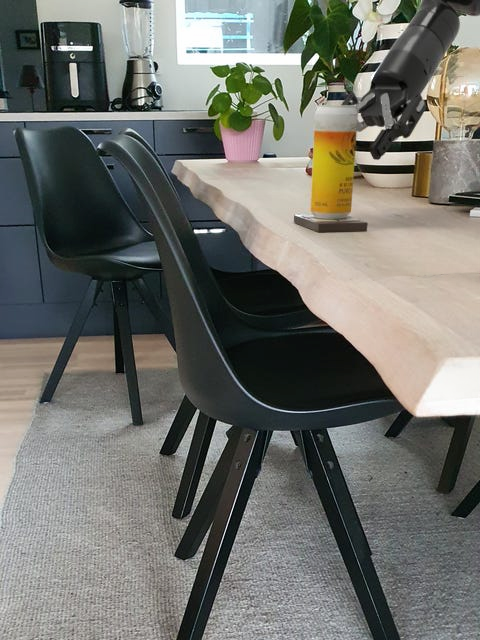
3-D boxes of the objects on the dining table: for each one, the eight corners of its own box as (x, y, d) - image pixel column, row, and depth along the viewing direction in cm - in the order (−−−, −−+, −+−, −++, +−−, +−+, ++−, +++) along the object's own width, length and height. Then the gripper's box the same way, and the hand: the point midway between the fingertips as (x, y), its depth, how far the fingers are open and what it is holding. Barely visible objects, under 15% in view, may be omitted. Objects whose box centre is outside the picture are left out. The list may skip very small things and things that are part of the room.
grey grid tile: (293, 222, 124) (294, 213, 123) (339, 221, 126) (339, 212, 125) (318, 232, 115) (318, 222, 114) (367, 231, 116) (367, 221, 116)
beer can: (346, 220, 116) (353, 105, 109) (305, 218, 118) (310, 104, 111) (354, 215, 121) (362, 105, 115) (315, 213, 123) (320, 105, 116)
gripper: (361, 49, 122) (305, 132, 120) (438, 45, 112) (378, 136, 111) (380, 89, 127) (327, 169, 126) (455, 88, 118) (398, 175, 116)
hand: (351, 153), depth 118 cm, fingers open, 8 cm apart
